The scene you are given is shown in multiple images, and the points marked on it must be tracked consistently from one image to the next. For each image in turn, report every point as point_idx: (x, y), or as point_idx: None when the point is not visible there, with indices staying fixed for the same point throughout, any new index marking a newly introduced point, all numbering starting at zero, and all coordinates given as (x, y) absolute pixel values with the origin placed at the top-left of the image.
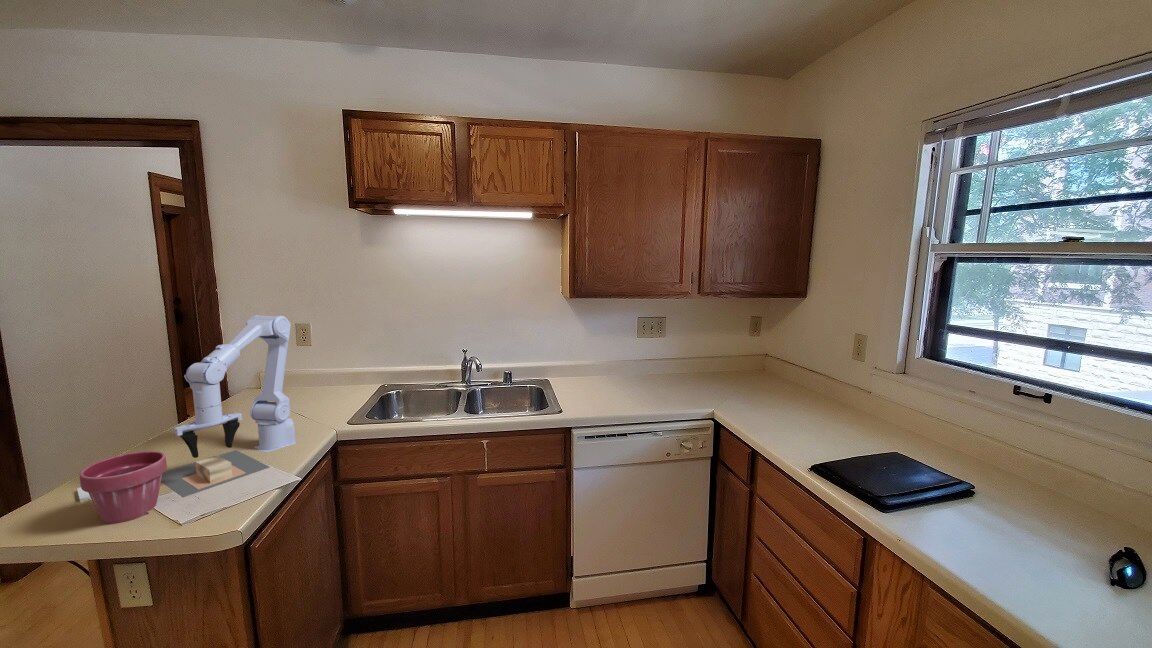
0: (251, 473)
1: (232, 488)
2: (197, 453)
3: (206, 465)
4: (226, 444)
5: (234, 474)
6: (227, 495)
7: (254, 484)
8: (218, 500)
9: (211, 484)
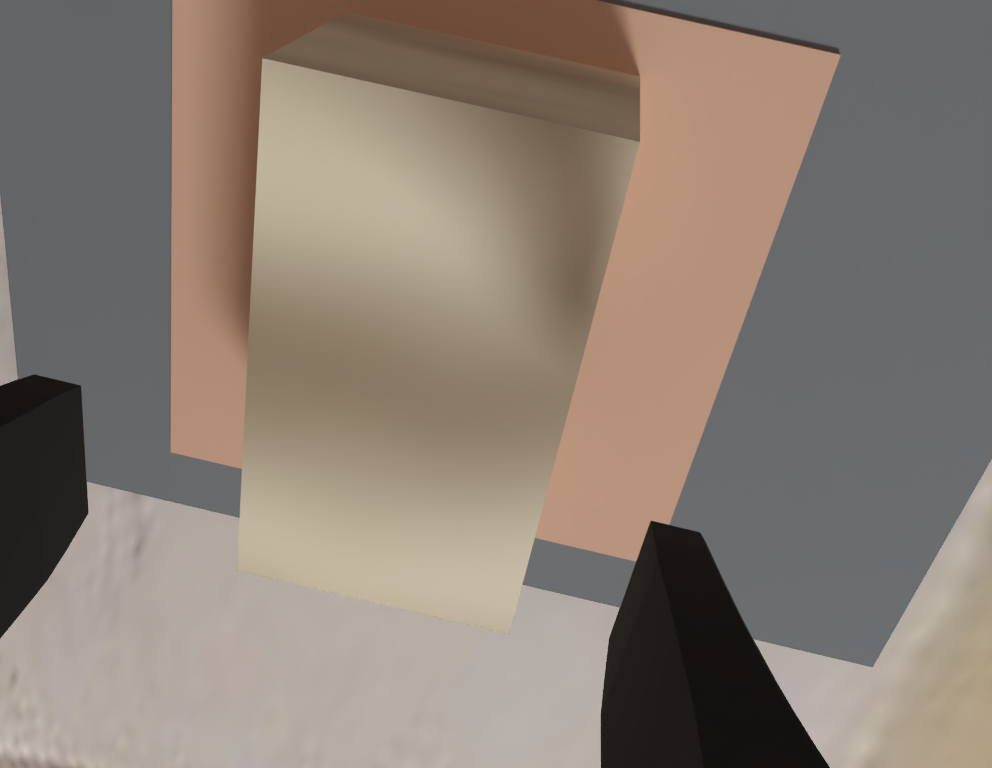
0: None
1: (391, 650)
2: (23, 591)
3: (285, 413)
4: (642, 587)
5: (571, 485)
6: (296, 709)
7: (529, 749)
8: (215, 712)
9: None
